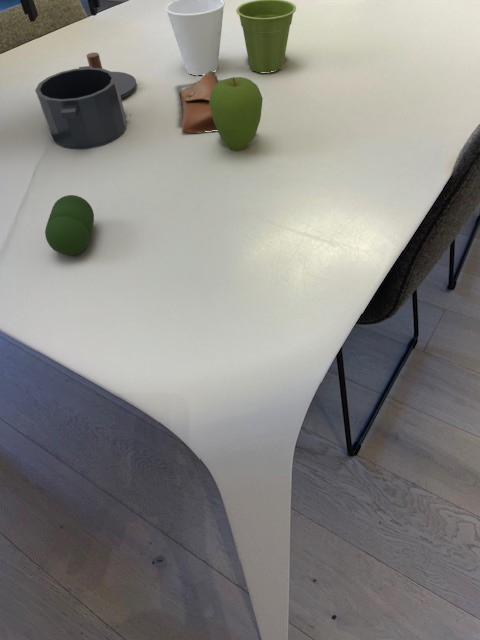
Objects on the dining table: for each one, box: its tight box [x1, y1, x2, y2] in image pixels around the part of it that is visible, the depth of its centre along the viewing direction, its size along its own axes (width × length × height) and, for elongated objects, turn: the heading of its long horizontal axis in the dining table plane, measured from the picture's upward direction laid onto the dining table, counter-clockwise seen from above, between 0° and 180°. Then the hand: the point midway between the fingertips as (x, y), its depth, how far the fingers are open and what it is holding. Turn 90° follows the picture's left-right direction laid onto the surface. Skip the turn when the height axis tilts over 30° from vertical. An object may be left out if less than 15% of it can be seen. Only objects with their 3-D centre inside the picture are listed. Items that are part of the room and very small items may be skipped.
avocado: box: [44, 194, 95, 256], centre depth 67 cm, size 10×6×6 cm, turn 3°
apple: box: [209, 76, 264, 152], centre depth 79 cm, size 9×8×12 cm
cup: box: [164, 0, 225, 76], centre depth 103 cm, size 12×12×12 cm
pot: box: [34, 65, 128, 150], centre depth 88 cm, size 14×19×8 cm
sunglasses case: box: [178, 71, 219, 134], centre depth 92 cm, size 18×7×7 cm
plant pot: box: [235, 0, 297, 73], centre depth 102 cm, size 12×12×11 cm
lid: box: [86, 52, 137, 99], centre depth 100 cm, size 15×15×7 cm
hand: (64, 16), depth 78 cm, fingers open, 9 cm apart
